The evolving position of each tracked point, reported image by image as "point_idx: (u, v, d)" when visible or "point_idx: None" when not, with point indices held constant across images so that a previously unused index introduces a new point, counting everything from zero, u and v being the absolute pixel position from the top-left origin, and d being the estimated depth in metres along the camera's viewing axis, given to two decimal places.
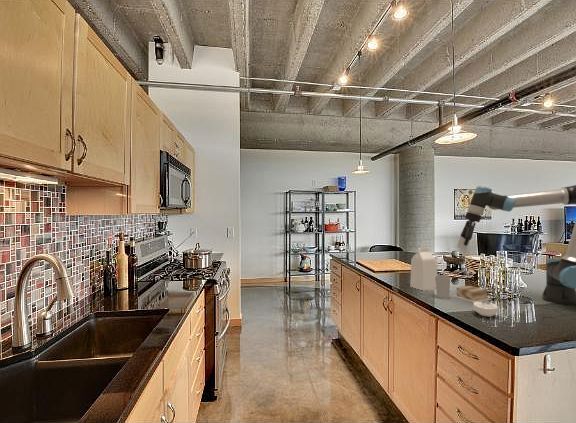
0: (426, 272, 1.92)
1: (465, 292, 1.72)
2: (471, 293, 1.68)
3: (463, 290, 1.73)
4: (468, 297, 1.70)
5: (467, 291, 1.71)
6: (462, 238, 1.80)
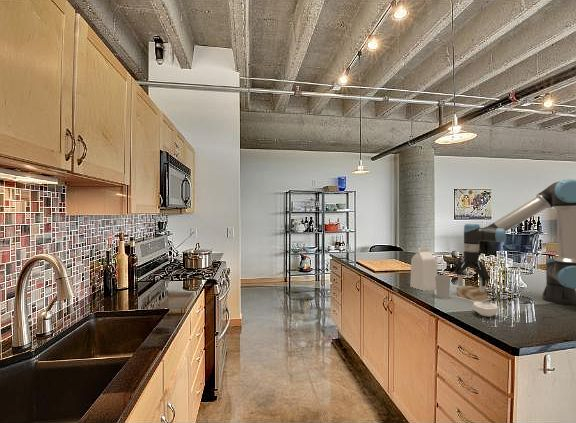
0: (426, 272, 1.92)
1: (465, 292, 1.72)
2: (471, 293, 1.68)
3: (463, 290, 1.73)
4: (468, 297, 1.70)
5: (467, 291, 1.71)
6: (460, 276, 1.80)
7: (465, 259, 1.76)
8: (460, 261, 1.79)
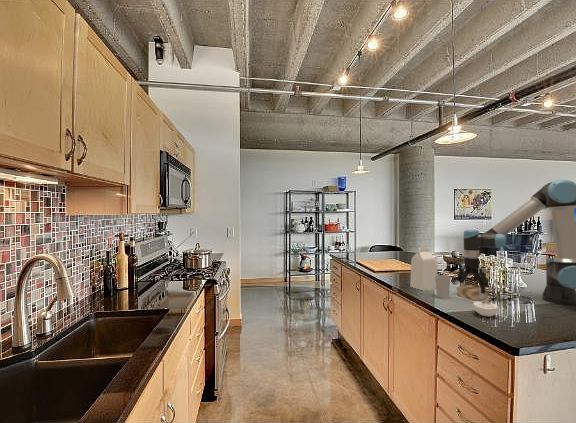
0: (426, 272, 1.92)
1: (465, 291, 1.72)
2: (471, 292, 1.68)
3: (463, 290, 1.73)
4: (468, 296, 1.70)
5: (467, 290, 1.70)
6: (463, 284, 1.79)
7: (465, 265, 1.76)
8: (461, 268, 1.79)
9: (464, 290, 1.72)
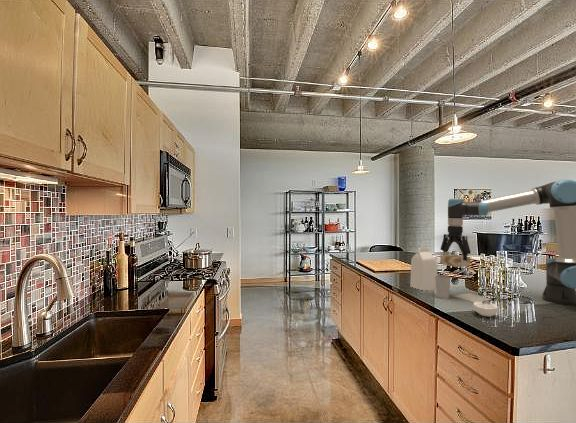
0: (426, 272, 1.92)
1: (448, 259, 1.73)
2: (453, 259, 1.69)
3: (446, 257, 1.74)
4: (451, 264, 1.71)
5: (450, 258, 1.72)
6: (446, 253, 1.80)
7: (449, 234, 1.77)
8: (445, 237, 1.80)
9: (447, 258, 1.74)
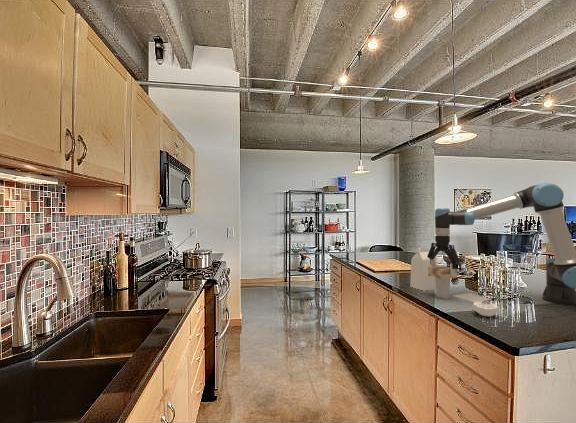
0: (426, 272, 1.92)
1: (436, 271, 1.73)
2: (441, 272, 1.70)
3: (434, 269, 1.75)
4: (438, 276, 1.72)
5: (437, 270, 1.72)
6: (433, 260, 1.81)
7: (437, 243, 1.78)
8: (432, 246, 1.80)
9: (434, 270, 1.74)
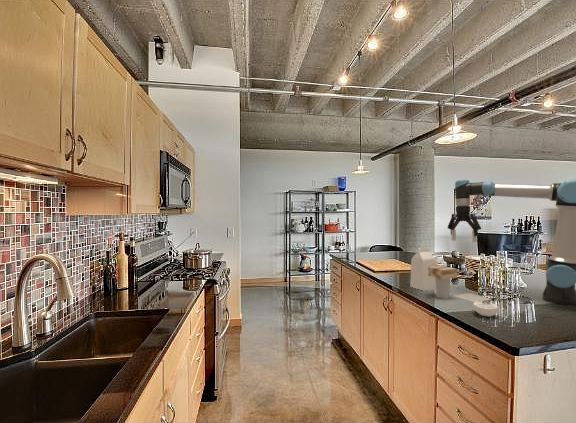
0: (426, 272, 1.92)
1: (436, 271, 1.73)
2: (441, 272, 1.70)
3: (434, 269, 1.74)
4: (438, 276, 1.72)
5: (437, 270, 1.72)
6: (453, 231, 1.91)
7: (457, 214, 1.87)
8: (453, 217, 1.90)
9: (434, 270, 1.74)
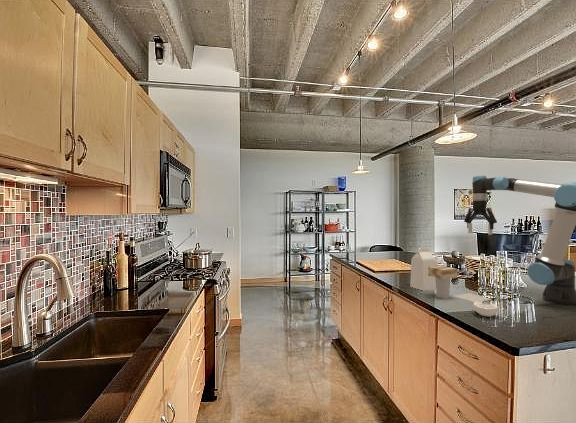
0: (426, 272, 1.92)
1: (436, 271, 1.73)
2: (441, 272, 1.70)
3: (434, 269, 1.74)
4: (438, 276, 1.72)
5: (437, 270, 1.72)
6: (470, 224, 2.01)
7: (474, 208, 1.97)
8: (469, 211, 2.00)
9: (434, 270, 1.74)
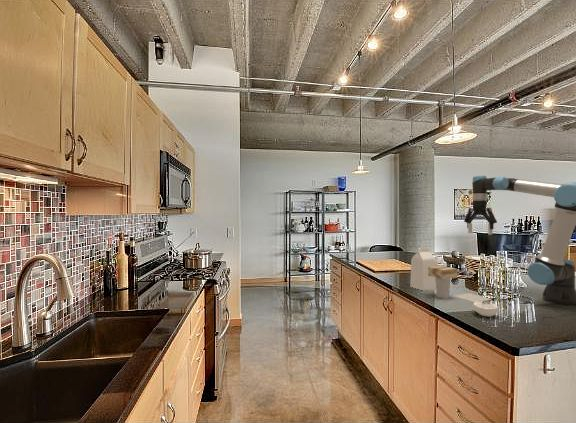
0: (426, 272, 1.92)
1: (436, 271, 1.73)
2: (441, 272, 1.70)
3: (434, 269, 1.74)
4: (438, 276, 1.72)
5: (437, 270, 1.72)
6: (470, 224, 2.01)
7: (474, 208, 1.97)
8: (469, 211, 2.00)
9: (434, 270, 1.74)
